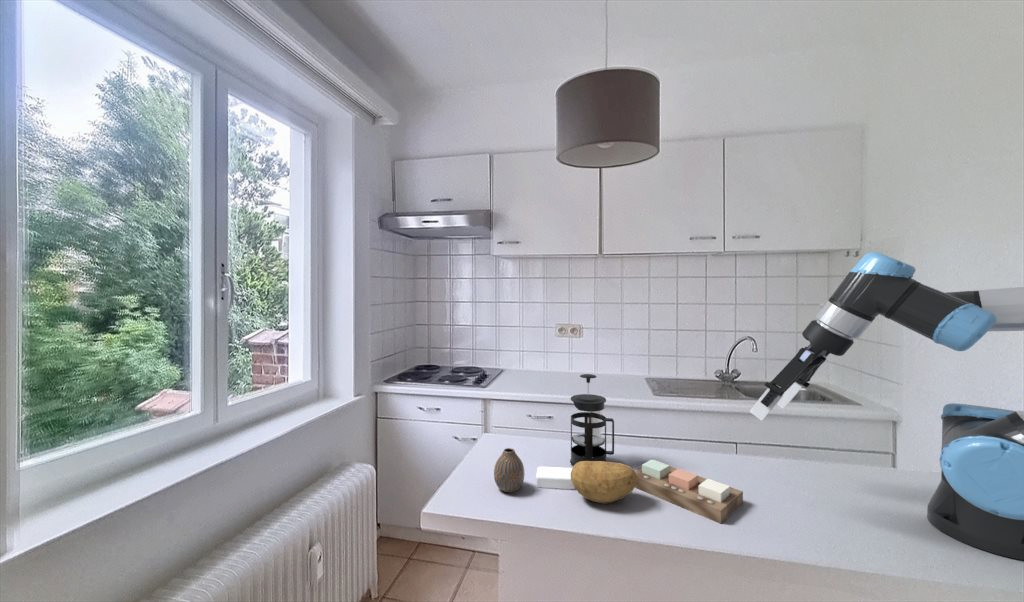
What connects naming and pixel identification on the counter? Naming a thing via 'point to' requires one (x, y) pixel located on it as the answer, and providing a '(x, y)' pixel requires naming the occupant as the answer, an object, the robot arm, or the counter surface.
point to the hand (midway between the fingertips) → (767, 410)
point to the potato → (603, 480)
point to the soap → (554, 478)
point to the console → (689, 496)
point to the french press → (589, 428)
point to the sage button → (656, 469)
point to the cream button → (714, 490)
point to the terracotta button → (683, 479)
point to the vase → (509, 471)
